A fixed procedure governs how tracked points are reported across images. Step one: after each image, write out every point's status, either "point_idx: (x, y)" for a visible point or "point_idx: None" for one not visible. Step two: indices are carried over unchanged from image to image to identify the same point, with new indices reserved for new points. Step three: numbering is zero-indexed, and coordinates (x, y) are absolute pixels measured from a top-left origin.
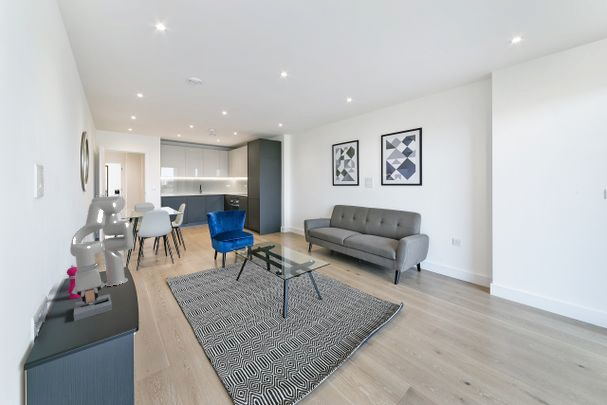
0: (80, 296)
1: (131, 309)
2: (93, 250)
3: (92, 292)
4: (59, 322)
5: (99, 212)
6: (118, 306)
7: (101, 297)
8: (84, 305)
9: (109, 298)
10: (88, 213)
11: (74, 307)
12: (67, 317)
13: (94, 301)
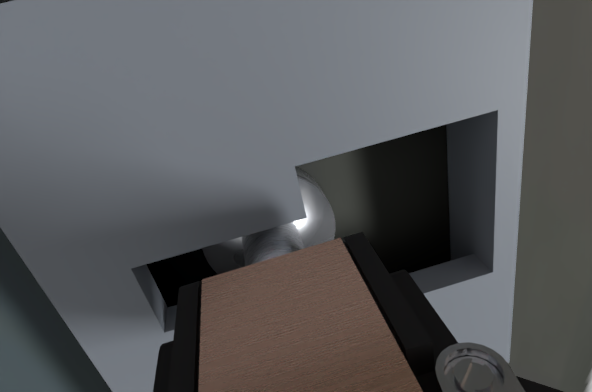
0: None
1: (586, 359)
2: None
3: None
4: (14, 385)
5: None
6: (520, 259)
7: (395, 26)
8: (180, 250)
9: (508, 172)
10: None
11: (42, 287)
12: (34, 305)
13: (300, 164)
